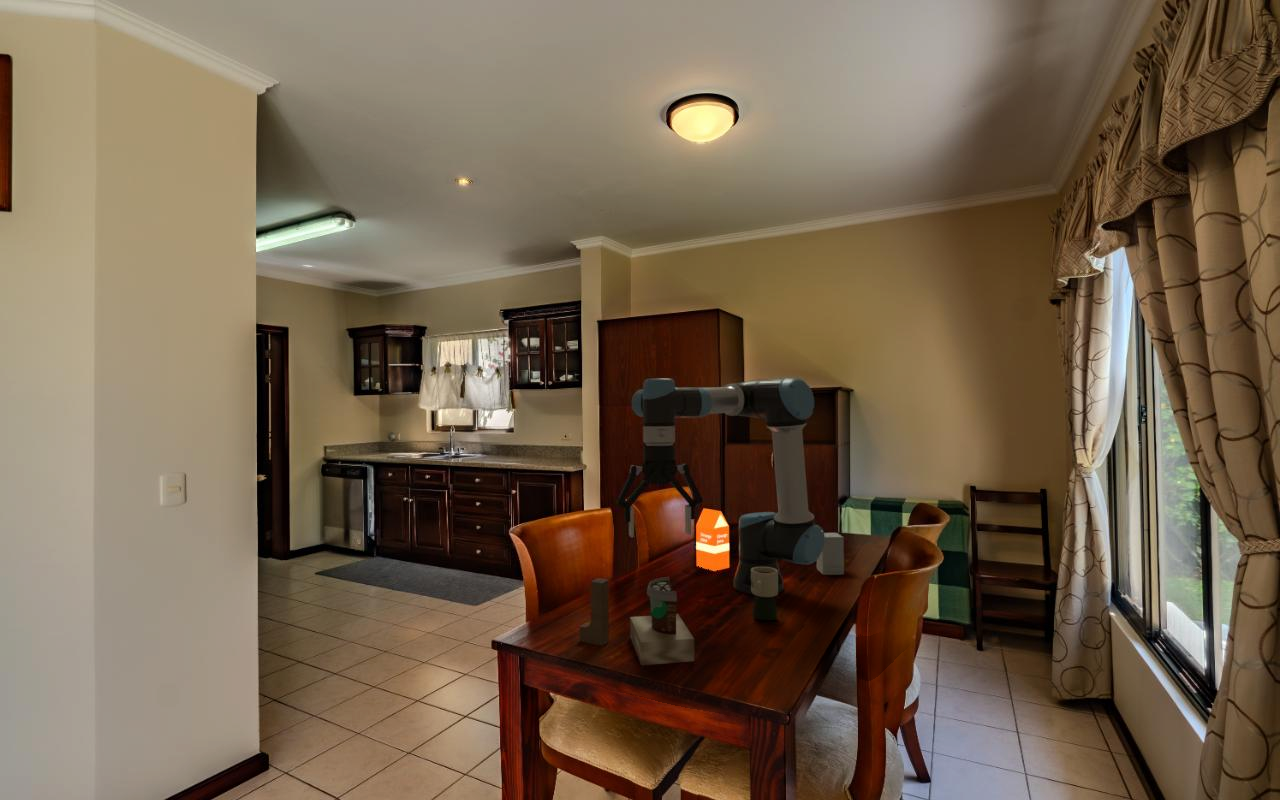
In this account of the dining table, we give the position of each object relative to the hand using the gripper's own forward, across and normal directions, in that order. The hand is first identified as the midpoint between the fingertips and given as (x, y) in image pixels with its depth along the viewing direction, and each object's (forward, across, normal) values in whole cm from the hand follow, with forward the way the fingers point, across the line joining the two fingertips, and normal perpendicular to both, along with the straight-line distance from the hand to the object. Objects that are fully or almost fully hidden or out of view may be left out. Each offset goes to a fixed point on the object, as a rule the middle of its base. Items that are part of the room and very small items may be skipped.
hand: (660, 534), depth 141 cm
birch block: (+27, 0, 0) cm, 27 cm away
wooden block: (+27, -15, +7) cm, 32 cm away
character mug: (+27, +31, +14) cm, 43 cm away
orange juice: (+27, +32, +66) cm, 78 cm away
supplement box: (+27, +69, +52) cm, 90 cm away
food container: (+22, 0, 0) cm, 22 cm away
